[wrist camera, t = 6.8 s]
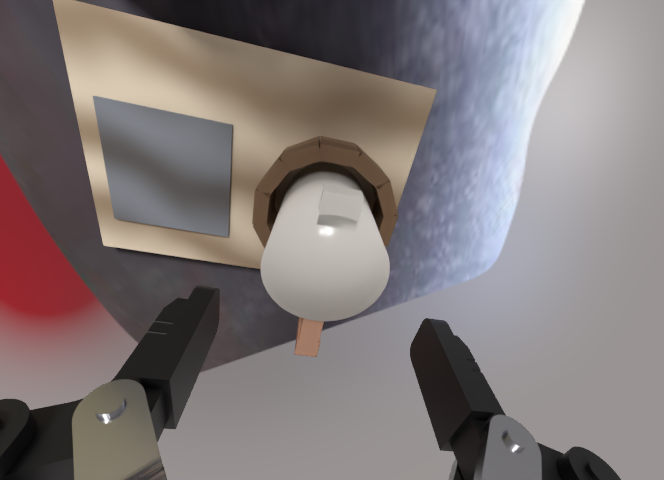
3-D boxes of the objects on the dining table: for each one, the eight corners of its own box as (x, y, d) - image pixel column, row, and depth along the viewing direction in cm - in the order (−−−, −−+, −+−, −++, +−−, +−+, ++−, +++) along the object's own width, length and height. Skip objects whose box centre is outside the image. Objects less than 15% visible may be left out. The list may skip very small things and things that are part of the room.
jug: (292, 141, 20) (268, 180, 11) (376, 158, 21) (414, 207, 12) (277, 264, 25) (251, 356, 17) (345, 274, 26) (355, 368, 17)
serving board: (68, 0, 17) (-14, -29, 13) (431, 90, 20) (459, 89, 16) (112, 238, 25) (71, 268, 21) (369, 278, 28) (377, 310, 24)
